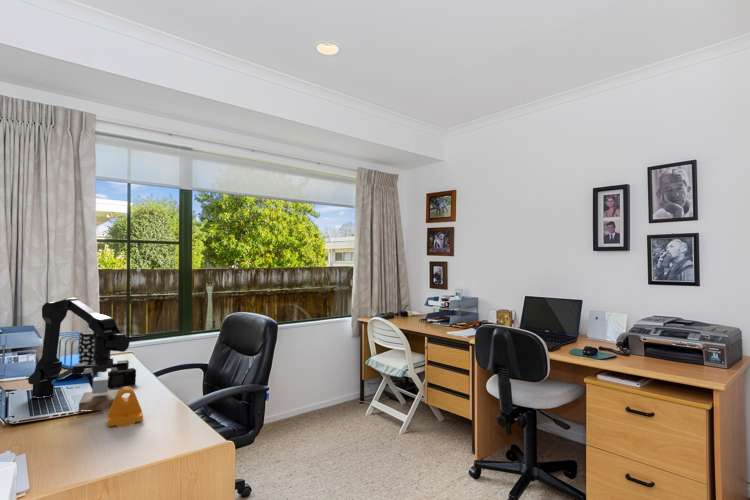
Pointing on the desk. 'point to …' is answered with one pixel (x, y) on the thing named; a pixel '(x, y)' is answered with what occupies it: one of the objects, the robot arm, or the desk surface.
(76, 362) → the file sorter
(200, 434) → the desk surface
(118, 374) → the digital camera
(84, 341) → the spotted tube
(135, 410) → the bracket
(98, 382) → the slate cube
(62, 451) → the desk surface
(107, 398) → the walnut block
